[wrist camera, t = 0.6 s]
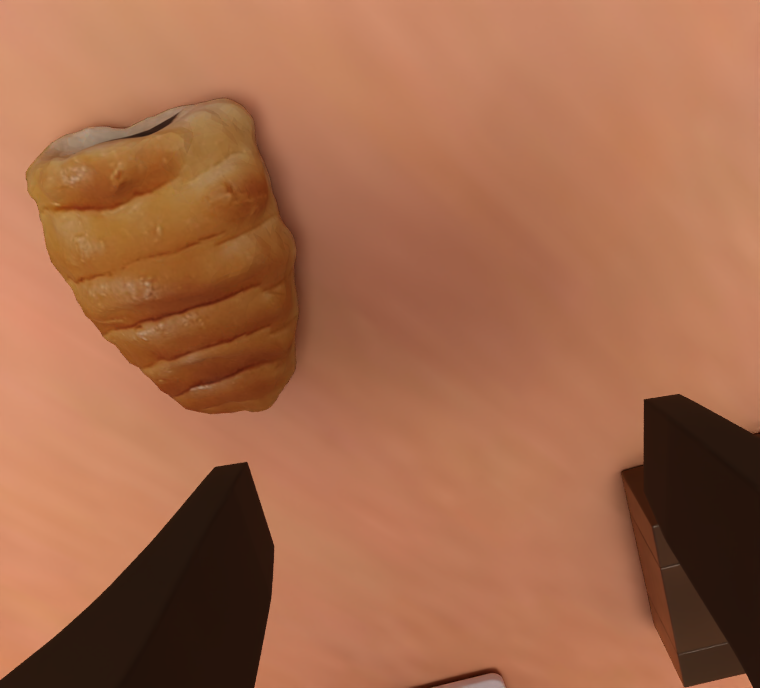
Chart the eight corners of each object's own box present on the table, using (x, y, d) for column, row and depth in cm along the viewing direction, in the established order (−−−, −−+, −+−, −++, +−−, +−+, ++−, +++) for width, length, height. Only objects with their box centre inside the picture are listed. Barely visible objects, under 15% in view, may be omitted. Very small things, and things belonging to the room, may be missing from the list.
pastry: (347, 362, 22) (343, 425, 19) (162, 411, 23) (127, 480, 20) (245, 75, 18) (216, 90, 15) (25, 146, 19) (-50, 175, 16)
